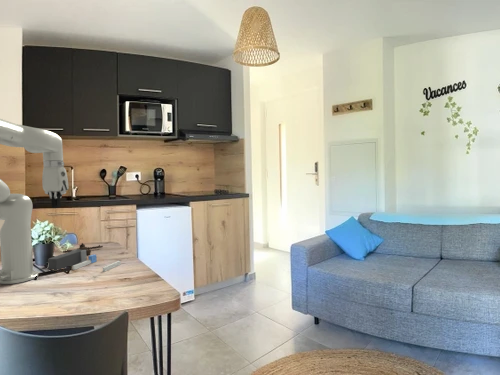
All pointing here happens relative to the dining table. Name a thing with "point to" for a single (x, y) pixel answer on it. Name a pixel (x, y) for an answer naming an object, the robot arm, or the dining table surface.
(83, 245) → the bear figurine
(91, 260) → the white blue-tipped sticks
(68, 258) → the dark grey rectangular block
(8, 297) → the dining table surface
